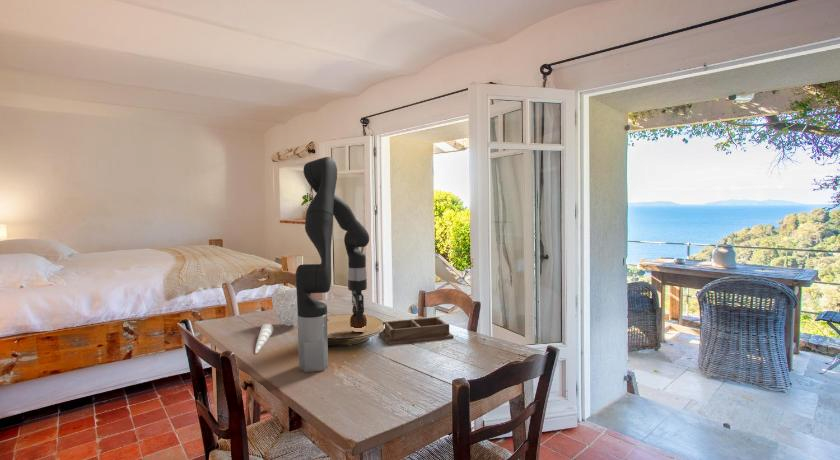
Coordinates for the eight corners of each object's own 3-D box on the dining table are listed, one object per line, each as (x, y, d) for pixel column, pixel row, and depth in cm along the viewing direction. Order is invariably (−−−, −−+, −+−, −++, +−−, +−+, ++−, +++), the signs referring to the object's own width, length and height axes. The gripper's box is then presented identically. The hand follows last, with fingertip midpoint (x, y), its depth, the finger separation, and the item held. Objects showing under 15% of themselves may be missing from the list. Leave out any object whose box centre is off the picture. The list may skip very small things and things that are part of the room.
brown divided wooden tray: (453, 338, 160) (453, 325, 160) (388, 345, 152) (388, 332, 152) (439, 326, 176) (439, 315, 175) (379, 332, 168) (379, 320, 167)
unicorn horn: (244, 355, 143) (243, 342, 143) (261, 335, 167) (261, 323, 167) (258, 355, 144) (257, 341, 144) (273, 334, 167) (273, 322, 167)
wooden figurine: (369, 331, 170) (369, 295, 169) (360, 335, 165) (359, 298, 164) (357, 329, 173) (356, 293, 172) (347, 332, 168) (347, 296, 168)
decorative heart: (266, 325, 179) (265, 286, 178) (285, 319, 188) (285, 282, 187) (293, 332, 169) (293, 291, 168) (313, 325, 178) (312, 286, 177)
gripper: (345, 275, 173) (346, 313, 174) (350, 281, 160) (351, 322, 161) (363, 274, 176) (363, 311, 177) (369, 280, 162) (370, 320, 163)
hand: (357, 316), depth 169 cm, fingers open, 8 cm apart
